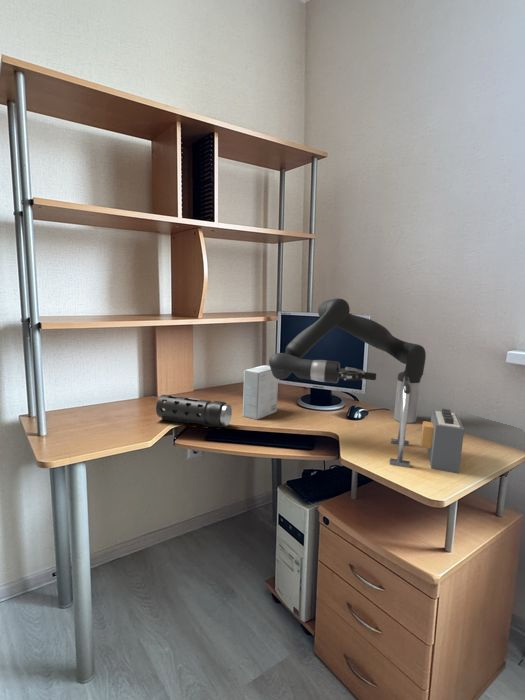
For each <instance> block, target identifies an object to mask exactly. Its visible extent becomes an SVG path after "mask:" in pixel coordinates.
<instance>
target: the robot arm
mask: <svg viewBox="0 0 525 700" xmlns="http://www.w3.org/2000/svg"><path fill="white" fill-rule="evenodd" d="M350 311H351V310H350V305H349V303H348V302H347V301H346V300H345V299H343V298H340V297H339V298H331V299H327V300H325V301H322V302H321V303H320V304H319V306H318V308H317V312H318V317H319V318H318V320H316V321H315V322H314V323H312V324H311V325H309V326H307V327H306V328H305V329H303V330H302V331H301V332H300V333H298V334H297V335H296V336H295V337H294V338H293V339H292V340H291V341H290V342H289V343H288V344H287V345H286V347H285V352H277V353H274V354H272V355H271V356H270V357H269V360H268V366H270V368H271V371H272V374H273V376H274V377H275V378H276V379H278V380H284V379H286V378H288V377H289V376H291V374H292V373H293V374H294V375H295V376H296V377H297V378H298V379H303V380H309V381H310V380H311V381H315V382H322V383H329V384H330V383H331V384H338V383H339V381H340V379H342V380H343V381H347V382H351V381H353V382H355V381H358V382H359V381H364V380H370V381H376V380H377V373H376V372H369V371H368V372H367V371H365V370H364V369H359V368H355V367H353V366H352V367H349V366H345V368H342V367H341V363H340V362H339V361H335V360H334V361H333V360H325V359H307V358H303V357H304V356H305V355H306V354H307V353H308V352H309V351H310V350H311V349H312V348H313V347H314V346H315V345H316V344H317V343H318V342H319V341H320V340H321V339H322V338H324V337H325V335H327V334H328V333H330V332H331V330H333V329H334V328H339V329H341V330H343V331H345V332H347V333H348V334H349V335H351V336H354V337H355V338H357V339H359V340H360V341H362V342H364V343H366V344H367V345H369V346H371V347H374V348H376V349H378V350H381V351H383V352H386V353H387V354H389V355H390V356H391V357H393V358H394V359H395V360H397V361H398V362H399V363H401V364H404V365H405V368H404V370H403V371H401V372H399V373H398V374H397V380H396V381H397V382H396V391H395V401H394V410H393V411H394V413H393V419H394V421H396V422H400V412H401V402H402V392H403V378H404V377H405V376H408V377H409V382H410V394H409V403H408V413H407V423H406V424H412V423H417V417H418V416H417V414H418V408H419V407H418V406H419V395H420V390H421V389H420V388H421V379H422V377H423V375H424V372H425V371H424V370H425V365H426V364H425V363H426V357H427V353H426V349H425V347H424V346H422V345H420V344H417V343H411V342H407V341H404V340H401V339H399V338H397V337H395V336H394V335H393V334H392V333H391V331H389V329H387V328H386V327H385V326H384V325H382V324H380V323H378V322H377V321H375V320H374V319H373V320H372V319H370V318H367V317H364V316H363V317H362V316H359V315H355V314H352V313H350Z"/></svg>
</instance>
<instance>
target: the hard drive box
mask: <svg viewBox="0 0 525 700" xmlns="http://www.w3.org/2000/svg"><path fill="white" fill-rule="evenodd" d="M278 386H279V379H276V378H275V377H274V376H273V374H272V371H271V368H270V365H265V364H264V365H260V366H256V367H252V368H248V369H244V370H243V396H242V397H243V398H242V399H243V400H242V417H244V418H248V419H253V420H257V421H258V420H260V419H262V418H265V417H267V416H270V415H273V414H274V413H277V412H278V391H279V390H278Z"/></svg>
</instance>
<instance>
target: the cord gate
mask: <svg viewBox="0 0 525 700" xmlns="http://www.w3.org/2000/svg"><path fill="white" fill-rule="evenodd" d="M409 394H410V382H409V377H408V376H405V377H404V378H403V392H402V402H401V412H400V421H398V422H399V424H398V432H397V433H398V434H397V438H390V439H391V440H390V444H391V445H396V446H398V449H397V451H398V452H397V458H389V465H391V466H397V467H404V468H410V465H411V462H410V460H404V450H405V446H406V447H409V446H410V445H409V443H410V442H409V440H406V430H407V424H408V423H407V413H408V403H409Z"/></svg>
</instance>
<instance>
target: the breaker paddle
mask: <svg viewBox="0 0 525 700" xmlns="http://www.w3.org/2000/svg"><path fill="white" fill-rule="evenodd" d="M421 428H422V429H421V437H420V444H421V446H420V447H421V448H427V449H428V448H432V440H433V432H434V424H433V422H431V421H422V427H421Z"/></svg>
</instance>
